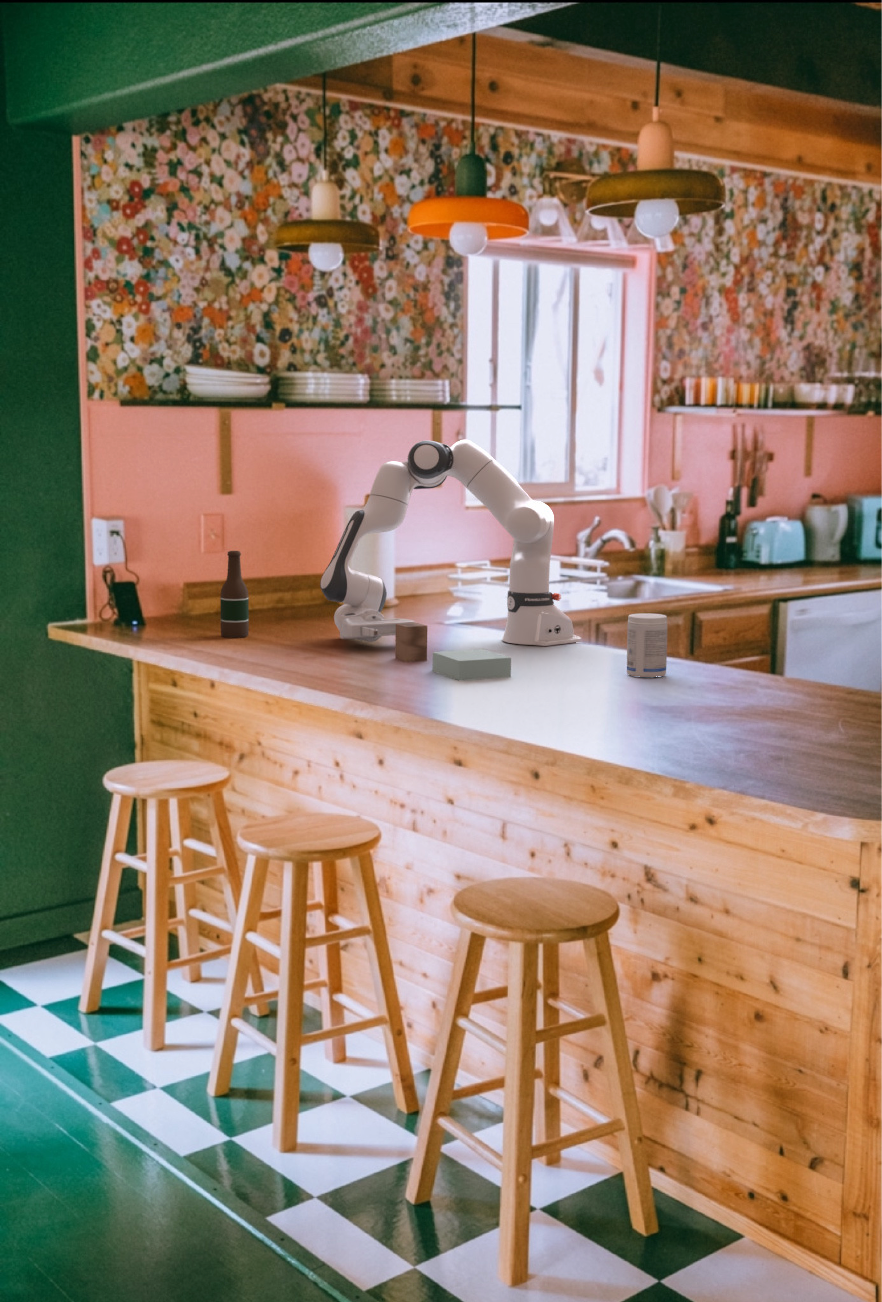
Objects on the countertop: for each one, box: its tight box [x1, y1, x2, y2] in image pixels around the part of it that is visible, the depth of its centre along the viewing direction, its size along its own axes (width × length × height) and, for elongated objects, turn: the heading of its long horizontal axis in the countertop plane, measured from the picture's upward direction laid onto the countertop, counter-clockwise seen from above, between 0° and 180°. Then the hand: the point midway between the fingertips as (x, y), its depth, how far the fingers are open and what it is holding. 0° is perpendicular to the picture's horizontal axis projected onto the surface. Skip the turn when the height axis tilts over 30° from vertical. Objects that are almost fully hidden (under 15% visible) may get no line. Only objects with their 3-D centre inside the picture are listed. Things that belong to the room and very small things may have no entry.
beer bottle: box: [219, 550, 250, 639], centre depth 372 cm, size 8×8×24 cm
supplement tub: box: [626, 612, 668, 677], centre depth 321 cm, size 10×10×15 cm
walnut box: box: [394, 622, 428, 663], centre depth 339 cm, size 6×6×9 cm
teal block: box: [431, 648, 512, 681], centre depth 321 cm, size 14×14×5 cm
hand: (391, 631), depth 349 cm, fingers open, 8 cm apart
